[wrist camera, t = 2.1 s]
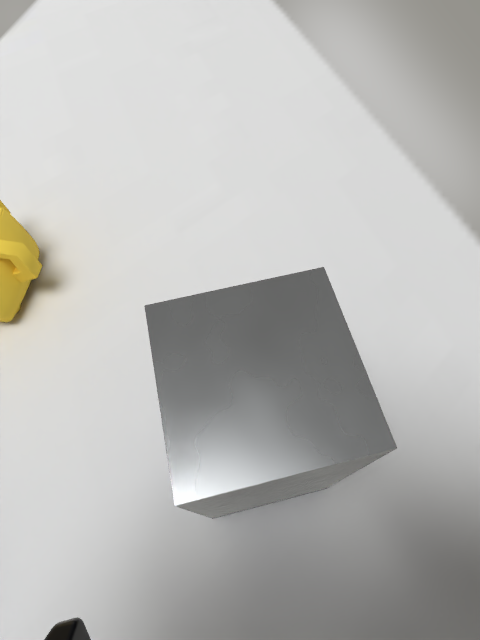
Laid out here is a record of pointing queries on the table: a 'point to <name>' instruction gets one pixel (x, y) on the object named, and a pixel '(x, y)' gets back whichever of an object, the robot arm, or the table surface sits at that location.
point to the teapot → (15, 264)
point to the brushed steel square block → (261, 394)
